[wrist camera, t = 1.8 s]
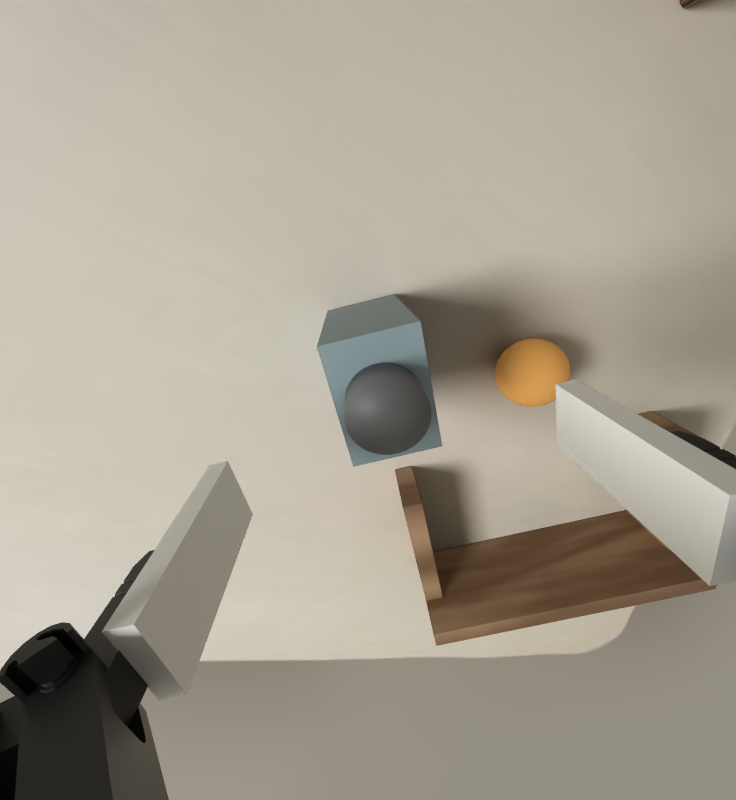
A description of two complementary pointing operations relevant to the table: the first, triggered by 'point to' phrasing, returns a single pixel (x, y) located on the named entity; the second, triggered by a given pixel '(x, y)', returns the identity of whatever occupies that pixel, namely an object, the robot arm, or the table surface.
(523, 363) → the ball
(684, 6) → the letter holder
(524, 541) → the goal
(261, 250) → the table surface
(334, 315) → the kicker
